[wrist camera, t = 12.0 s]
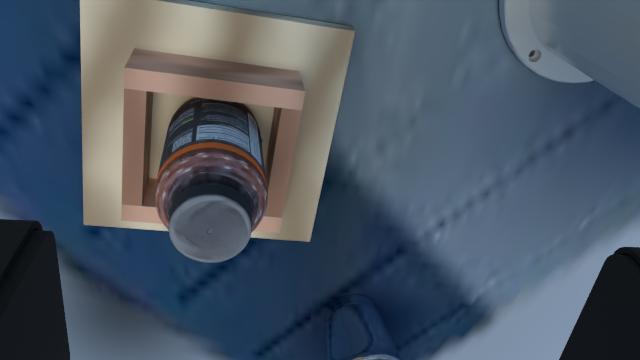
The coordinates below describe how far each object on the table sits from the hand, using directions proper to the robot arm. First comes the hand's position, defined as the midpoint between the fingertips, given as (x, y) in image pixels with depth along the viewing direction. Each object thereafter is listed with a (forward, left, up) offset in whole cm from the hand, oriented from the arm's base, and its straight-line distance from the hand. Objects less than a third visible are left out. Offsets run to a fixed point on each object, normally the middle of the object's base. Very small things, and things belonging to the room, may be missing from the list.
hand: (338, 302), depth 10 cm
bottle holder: (+2, +10, -28) cm, 30 cm away
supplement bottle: (+2, +10, -27) cm, 29 cm away
